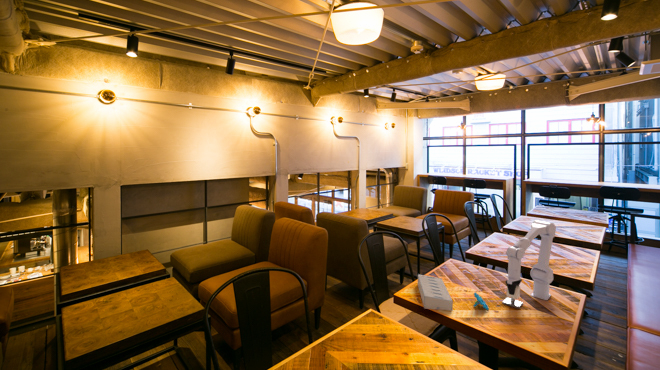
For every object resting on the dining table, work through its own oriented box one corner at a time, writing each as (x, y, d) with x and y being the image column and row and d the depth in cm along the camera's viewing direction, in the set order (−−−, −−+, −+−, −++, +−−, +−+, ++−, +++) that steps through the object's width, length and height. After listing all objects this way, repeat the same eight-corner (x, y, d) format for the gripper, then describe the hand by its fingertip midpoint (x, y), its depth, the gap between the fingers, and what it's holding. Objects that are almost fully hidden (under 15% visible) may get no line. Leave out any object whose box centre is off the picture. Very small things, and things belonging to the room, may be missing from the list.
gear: (490, 311, 153) (475, 294, 157) (480, 317, 155) (466, 301, 158) (489, 304, 163) (475, 289, 166) (480, 310, 165) (467, 295, 168)
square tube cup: (509, 293, 167) (510, 283, 166) (519, 296, 163) (520, 286, 163) (506, 296, 164) (507, 286, 163) (516, 299, 160) (517, 288, 159)
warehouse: (452, 311, 158) (452, 297, 157) (424, 309, 160) (424, 295, 159) (441, 287, 187) (441, 275, 186) (417, 285, 189) (417, 274, 189)
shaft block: (507, 299, 169) (507, 289, 169) (523, 304, 163) (523, 294, 163) (502, 303, 164) (502, 293, 164) (518, 308, 158) (519, 298, 158)
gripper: (510, 263, 170) (509, 286, 171) (501, 270, 160) (500, 294, 161) (524, 267, 165) (523, 290, 166) (516, 274, 155) (515, 299, 156)
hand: (513, 292), depth 163 cm, fingers closed on square tube cup, 5 cm apart
